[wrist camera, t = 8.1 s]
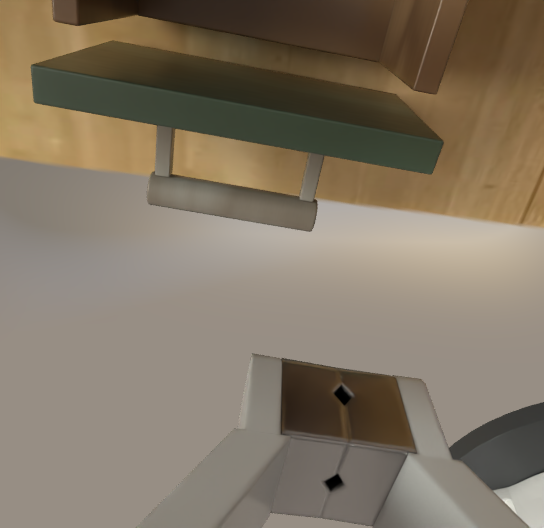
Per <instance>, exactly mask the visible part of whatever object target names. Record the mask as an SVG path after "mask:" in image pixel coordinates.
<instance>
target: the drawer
mask: <svg viewBox="0 0 544 528" xmlns="http://www.w3.org/2000/svg"><path fill="white" fill-rule="evenodd" d="M467 3H468V0H52V7H53V20H54V21H55V22H59V23H64V24H69V25H75V26H80V25H86V24H91V23H97V22H102V21H108V20H113V19H119V18H124V17H130V16H135V15H139V16H144V17H149V18H154V19H159V20H164V21H170V22H175V23H180V24H185V25H190V26H195V27H200V28H205V29H211V30H216V31H221V32H226V33H231V34H236V35H241V36H247V37H252V38H257V39H262V40H267V41H272V42H277V43H282V44H288V45H293V46H298V47H303V48H308V49H313V50H318V51H324V52H329V53H334V54H339V55H344V56H349V57H354V58H359V59H365V60H370V61H375V62H380V63H381V64H382V65H383V66H384V67H386V68H387V69H388V70H389V71H391V72H392V73H393V74H394V75H395V76H397V77H398V78H399V79H400V80H402V81H403V82H404V83H405V84H407V85H408V86H409V87H410V88H411V89H413V90H414V91H418V92H424V93H429V94H437V92H438V89H439V86H440V83H441V80H442V77H443V74H444V71H445V68H446V65H447V62H448V59H449V56H450V53H451V50H452V47H453V45H454V42H455V39H456V36H457V33H458V30H459V27H460V24H461V21H462V18H463V15H464V12H465V9H466V6H467ZM31 75H32V86H33V98H34V102H35V103H37V104H42V105H48V106H53V107H59V108H64V109H70V110H76V111H81V112H87V113H92V114H98V115H103V116H109V117H114V118H120V119H125V120H131V121H136V122H142V123H147V124H153V125H157V139H156V161H155V171H154V172H152V173H151V175H150V178H149V182H148V187H147V201H148V203H149V204H150V205H156V206H162V207H168V208H173V209H179V210H185V211H191V212H197V213H203V214H209V215H215V216H220V217H226V218H233V219H238V220H244V221H251V222H256V223H262V224H268V225H273V226H280V227H285V228H291V229H297V230H303V231H309V232H310V231H312V229H313V227H314V224H315V220H316V214H317V200H316V199H314V198H315V194H316V189H317V185H318V181H319V177H320V172H321V168H322V164H323V160H324V156H330V157H336V158H341V159H347V160H352V161H358V162H363V163H369V164H374V165H380V166H385V167H391V168H397V169H402V170H408V171H413V172H419V173H424V174H432V173H433V171H434V168H435V165H436V163H437V160H438V157H439V154H440V152H441V149H442V146H443V143H444V142H443V140H442V139H441V138H440V137H439V136H438V135H437V134H436V133H435V132H434V131H433V130H432V129H431V128H430V127H429V126H428V125H427V124H426V123H425V122H424V121H423V120H421V119H420V118H419V117H418V116H417V115H416V114H415V113H414V112H413V111H412V110H411V109H410V108H409V107H408V106H407V105H406V104H405V103H404V102H403V101H402V100H401V99H400V98H399V97H398V96H397V95H396V94H391V93H385V92H380V91H375V90H370V89H364V88H359V87H354V86H349V85H343V84H338V83H333V82H328V81H322V80H317V79H312V78H307V77H301V76H296V75H291V74H286V73H281V72H275V71H270V70H265V69H260V68H254V67H249V66H244V65H239V64H233V63H228V62H223V61H218V60H212V59H207V58H202V57H197V56H191V55H186V54H181V53H176V52H170V51H165V50H160V49H155V48H150V47H144V46H139V45H134V44H129V43H123V42H118V41H109V42H106V43H103V44H99V45H96V46H93V47H89V48H86V49H83V50H79V51H76V52H73V53H69V54H66V55H63V56H59V57H56V58H53V59H49V60H46V61H43V62H39V63H36V64H33V65H31ZM175 129H181V130H186V131H192V132H197V133H203V134H208V135H214V136H219V137H225V138H230V139H236V140H242V141H247V142H253V143H258V144H264V145H269V146H275V147H280V148H286V149H291V150H297V151H302V152H308V157H307V162H306V166H305V171H304V175H303V180H302V185H301V189H300V194H299V195H300V197H299V196H294V195H288V194H282V193H276V192H271V191H265V190H259V189H254V188H248V187H242V186H236V185H231V184H225V183H219V182H213V181H208V180H202V179H196V178H191V177H185V176H179V175H173V174H171V173H172V168H173V153H174V138H175Z"/></svg>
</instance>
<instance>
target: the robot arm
mask: <svg viewBox="0 0 544 528" xmlns="http://www.w3.org/2000/svg"><path fill="white" fill-rule="evenodd" d="M270 513H277V514H287V515H296V516H306V517H315V518H323V519H330V520H336V521H342V522H348V523H354V524H361V525H366V526H373V528H544V472H543V473H540V474H537V475H535V476H532V477H530V478H528V479H526V480H524V481H521V482H519V483H517V484H515V485H512V486H510V487H506V488H501V489H496V490H491V489H490V488H489V487H488V486H487V485H486V484H485V483H484V482H483V481H482V480H481V479H480V478H479V477H478V476H477V475H476V474H475V473H474V472H473V471H472V470H471V469H470V468H469V467H468V466H467V465H466V464H465V463H464V462H463V461H460V460H454V459H452V456H451V453H450V450H449V447H448V445H447V442H446V439H445V436H444V434H443V431H442V429H441V425H440V423H439V420H438V417H437V414H436V411H435V409H434V406H433V403H432V400H431V398H430V395H429V392H428V389H427V387H426V384H425V383H424V382H423V381H422V380H421V379H417V378H409V377H402V376H394V375H393V376H390V375H384V374H376V373H370V372H363V371H356V370H349V369H342V368H335V367H330V366H324V365H319V364H312V363H307V362H302V361H296V360H290V359H284V358H282V359H280V358H276V357H270V356H264V355H258V354H252V356H251V359H250V365H249V369H248V374H247V379H246V384H245V390H244V395H243V400H242V405H241V411H240V417H239V423H238V429H236V428H235V429H234V430H233V431H231V432H230V434H229V435H228V436H226V438H224V440H222V441H221V442H220V443H219V444H218V445H217V446H216V448H215V449H214V450H212V451H211V453H210V454H209V455H208V456H207V457H206V458H205V459H204V460H203V461H202V462H201V463H200V464H199V465H198V466H197V467H196V468H195V469H194V470H193V471H192V472H191V473H190V474H189V475H188V476H187V477H186V478H185V479H184V480H183V481H182V482H181V483H180V484H179V485H178V486H177V487H176V488H175V489H174V490H173V491H172V492H171V493H170V494H169V495H168V496H167V497H166V498H165V499H164V500H163V501H162V502H161V503H160V504H159V505H158V506H157V507H156V508H155V509H154V510H153V511H152V512H151V513H150V514H149V515H148V516H147V517H146V518H145V519H144V520H143V521H142V522H141V523H140V524H139V525H138V526H137V527H136V528H262V526H263V525H264V523H265V522H266V520H267V519H268V517H269V515H270Z"/></svg>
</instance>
